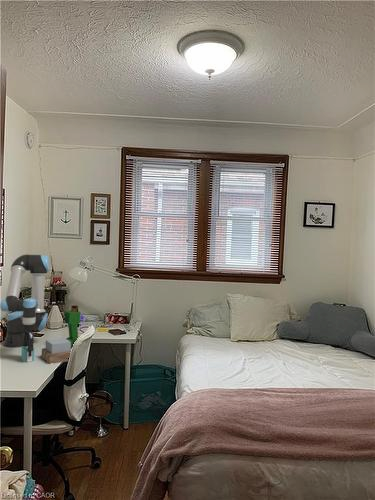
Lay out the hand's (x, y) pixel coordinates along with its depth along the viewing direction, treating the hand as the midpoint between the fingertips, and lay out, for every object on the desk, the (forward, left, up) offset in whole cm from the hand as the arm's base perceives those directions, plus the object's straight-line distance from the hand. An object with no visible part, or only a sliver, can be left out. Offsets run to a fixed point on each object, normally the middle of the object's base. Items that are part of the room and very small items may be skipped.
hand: (27, 359), depth 244 cm
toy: (-13, +35, 0) cm, 37 cm away
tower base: (+6, +17, -1) cm, 18 cm away
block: (0, 0, 0) cm, 0 cm away
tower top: (+6, +17, +5) cm, 19 cm away
